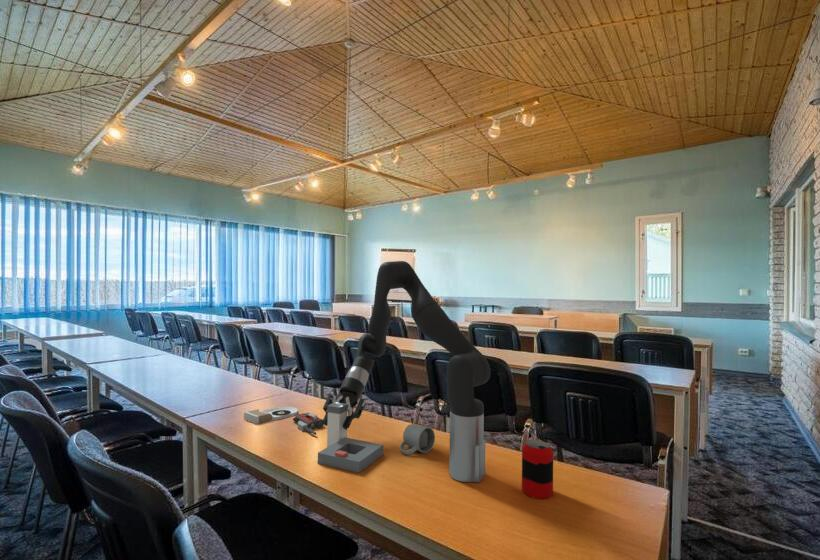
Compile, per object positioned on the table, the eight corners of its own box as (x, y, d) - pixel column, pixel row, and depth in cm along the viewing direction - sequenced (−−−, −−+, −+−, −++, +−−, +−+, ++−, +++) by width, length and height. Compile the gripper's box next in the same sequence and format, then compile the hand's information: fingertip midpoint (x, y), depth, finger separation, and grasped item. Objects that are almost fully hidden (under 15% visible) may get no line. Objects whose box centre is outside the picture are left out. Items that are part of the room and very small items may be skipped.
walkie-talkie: (287, 423, 155) (312, 438, 140) (287, 411, 155) (312, 425, 140) (308, 419, 161) (335, 433, 146) (309, 407, 161) (335, 420, 146)
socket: (383, 454, 127) (383, 442, 127) (358, 472, 114) (359, 459, 114) (344, 446, 132) (345, 434, 133) (317, 463, 120) (317, 450, 120)
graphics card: (242, 411, 160) (286, 401, 175) (242, 419, 159) (286, 408, 175) (258, 417, 152) (303, 406, 168) (258, 426, 152) (303, 414, 168)
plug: (347, 443, 135) (348, 403, 135) (338, 449, 131) (339, 407, 131) (335, 441, 137) (335, 402, 137) (326, 446, 133) (327, 405, 133)
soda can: (532, 501, 100) (533, 451, 100) (516, 486, 107) (516, 440, 107) (559, 497, 102) (559, 448, 102) (541, 483, 109) (541, 437, 110)
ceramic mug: (417, 442, 137) (417, 419, 137) (435, 449, 132) (435, 425, 132) (393, 451, 130) (393, 426, 130) (412, 459, 124) (412, 433, 124)
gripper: (333, 374, 144) (311, 417, 133) (368, 378, 138) (349, 424, 127) (341, 386, 149) (321, 428, 138) (376, 391, 143) (357, 435, 132)
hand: (334, 426), depth 132 cm, fingers open, 7 cm apart
